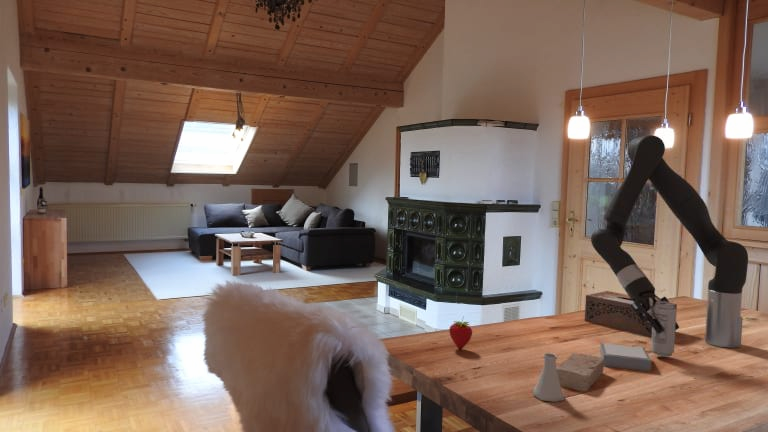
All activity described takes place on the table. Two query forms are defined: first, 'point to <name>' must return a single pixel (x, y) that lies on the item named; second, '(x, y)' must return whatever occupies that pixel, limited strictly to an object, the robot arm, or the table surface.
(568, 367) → the brick
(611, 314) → the tissue box cover
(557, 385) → the flask
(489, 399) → the table surface
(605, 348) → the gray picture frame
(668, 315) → the energy drink can
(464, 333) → the strawberry
